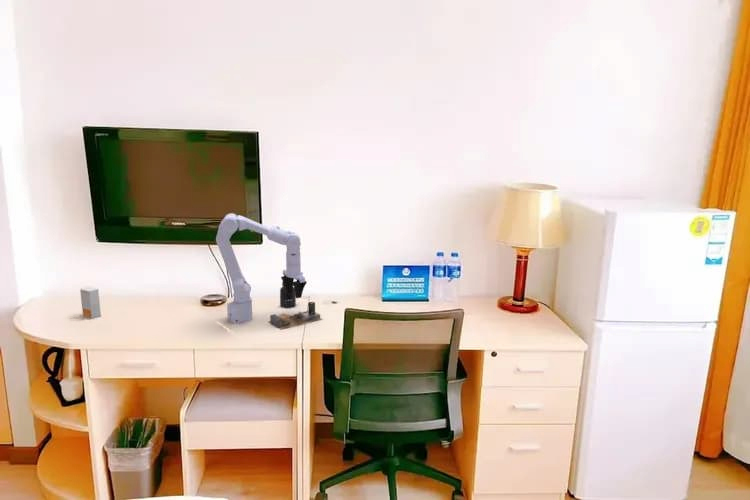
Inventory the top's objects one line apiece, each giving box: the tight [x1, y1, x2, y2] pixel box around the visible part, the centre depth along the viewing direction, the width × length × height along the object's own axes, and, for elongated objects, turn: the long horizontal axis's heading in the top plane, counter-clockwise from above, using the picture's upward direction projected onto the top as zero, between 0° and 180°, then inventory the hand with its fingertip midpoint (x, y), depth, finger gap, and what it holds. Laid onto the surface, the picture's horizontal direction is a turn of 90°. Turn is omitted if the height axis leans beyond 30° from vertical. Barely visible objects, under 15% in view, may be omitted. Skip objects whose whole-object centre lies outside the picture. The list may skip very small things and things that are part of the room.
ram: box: [297, 301, 319, 318], centre depth 230 cm, size 7×4×6 cm, turn 128°
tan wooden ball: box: [278, 313, 290, 324], centre depth 224 cm, size 4×4×4 cm
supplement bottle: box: [279, 280, 297, 309], centre depth 244 cm, size 7×7×12 cm
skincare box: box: [79, 286, 102, 320], centre depth 229 cm, size 6×4×12 cm
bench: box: [267, 310, 324, 331], centre depth 227 cm, size 20×11×4 cm, turn 128°
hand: (293, 295), depth 229 cm, fingers open, 7 cm apart
